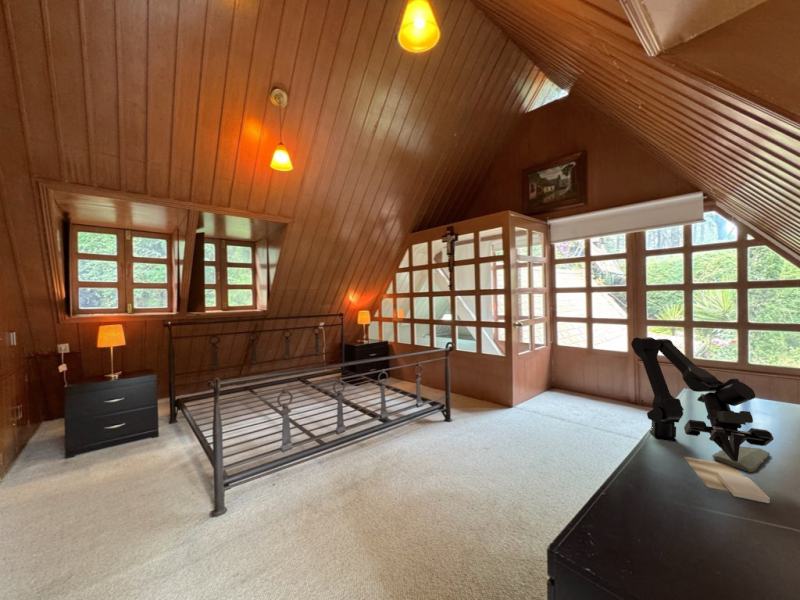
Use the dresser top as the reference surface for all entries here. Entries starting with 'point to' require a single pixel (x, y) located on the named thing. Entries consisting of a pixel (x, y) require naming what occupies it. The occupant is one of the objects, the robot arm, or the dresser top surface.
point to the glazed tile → (742, 487)
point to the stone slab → (744, 458)
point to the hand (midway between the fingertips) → (735, 461)
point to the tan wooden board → (711, 471)
